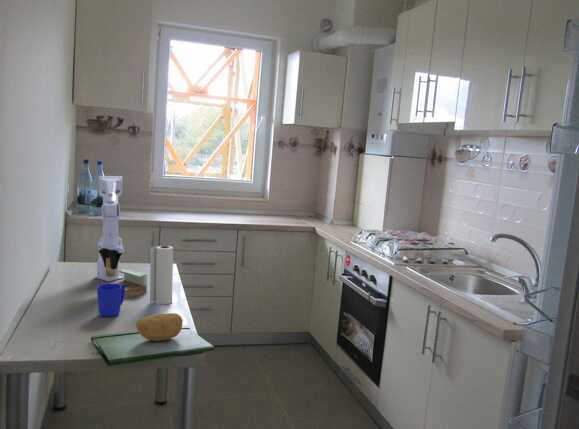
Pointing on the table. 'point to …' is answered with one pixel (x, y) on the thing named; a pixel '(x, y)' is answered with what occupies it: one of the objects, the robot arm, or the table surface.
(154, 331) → the potato
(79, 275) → the table surface
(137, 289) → the socket block
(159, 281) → the paper towel roll
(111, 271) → the peg
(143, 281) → the pale green grooved slab
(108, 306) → the mug
